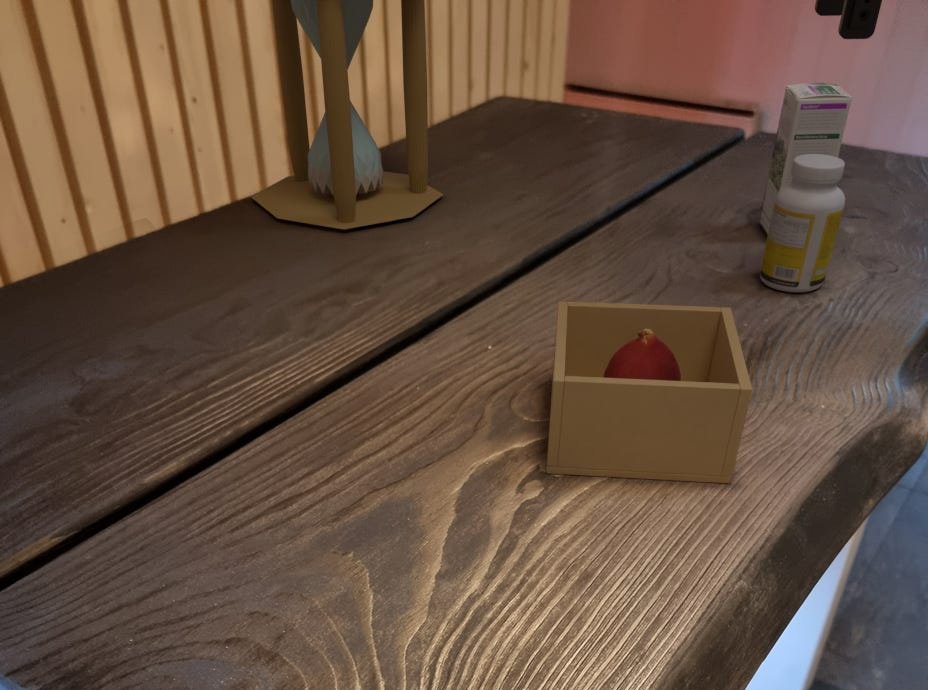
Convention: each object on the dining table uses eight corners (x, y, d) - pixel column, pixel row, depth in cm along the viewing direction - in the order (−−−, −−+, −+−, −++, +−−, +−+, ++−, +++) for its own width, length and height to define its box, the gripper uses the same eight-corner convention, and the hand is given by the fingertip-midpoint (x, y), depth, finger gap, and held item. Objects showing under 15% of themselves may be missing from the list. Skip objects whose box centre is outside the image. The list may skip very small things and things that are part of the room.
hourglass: (476, 197, 116) (478, -49, 99) (343, 246, 104) (320, -25, 87) (350, 160, 128) (333, -65, 111) (218, 200, 116) (176, -46, 99)
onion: (623, 400, 76) (635, 305, 71) (685, 422, 74) (703, 325, 68) (584, 428, 73) (594, 331, 68) (648, 452, 70) (664, 353, 65)
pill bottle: (822, 274, 97) (854, 153, 89) (823, 298, 93) (857, 173, 85) (758, 268, 98) (784, 148, 91) (756, 291, 94) (784, 168, 86)
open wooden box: (713, 395, 78) (730, 307, 73) (730, 483, 68) (752, 389, 63) (551, 387, 79) (558, 300, 74) (546, 473, 69) (552, 380, 64)
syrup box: (819, 241, 104) (857, 95, 94) (767, 241, 104) (798, 95, 94) (806, 223, 108) (840, 82, 98) (755, 223, 108) (785, 82, 99)
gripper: (1024, -315, 48) (924, 47, 59) (945, -299, 59) (873, 7, 70) (875, -308, 49) (804, 48, 60) (824, -293, 59) (771, 8, 71)
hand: (841, 25), depth 65 cm, fingers open, 8 cm apart
